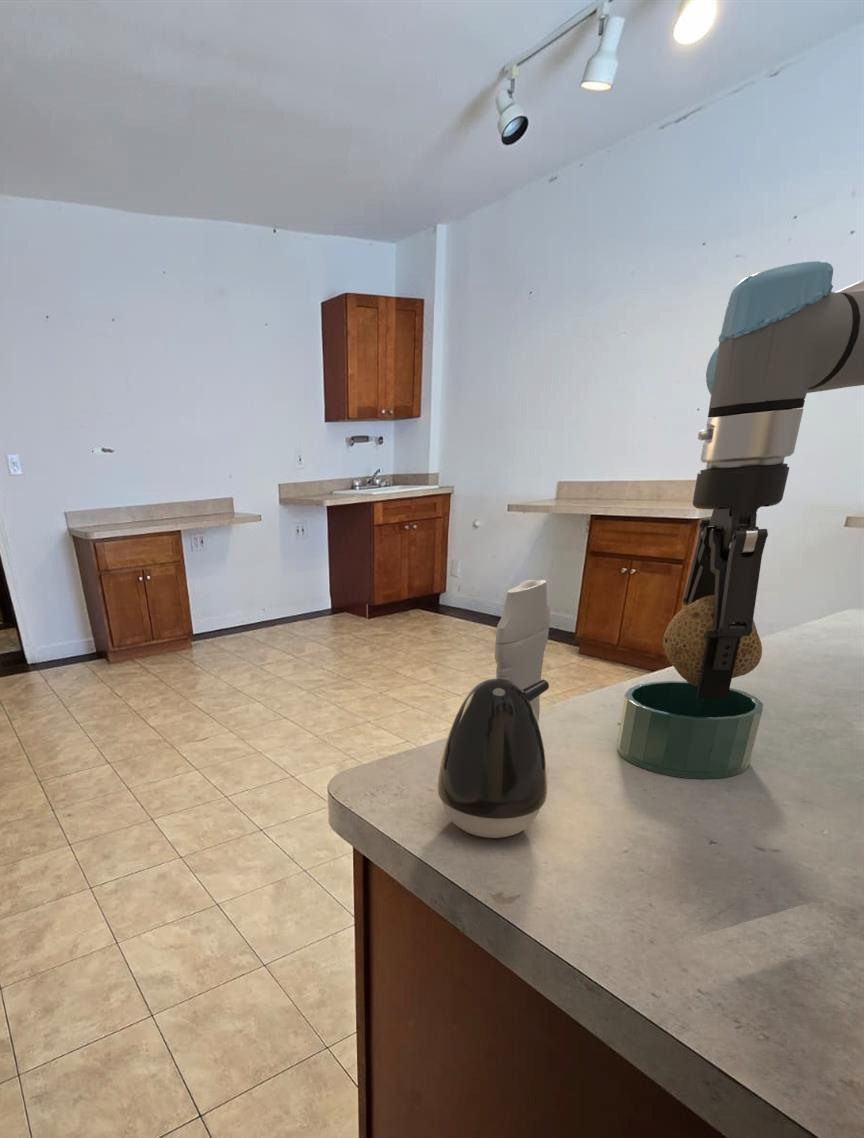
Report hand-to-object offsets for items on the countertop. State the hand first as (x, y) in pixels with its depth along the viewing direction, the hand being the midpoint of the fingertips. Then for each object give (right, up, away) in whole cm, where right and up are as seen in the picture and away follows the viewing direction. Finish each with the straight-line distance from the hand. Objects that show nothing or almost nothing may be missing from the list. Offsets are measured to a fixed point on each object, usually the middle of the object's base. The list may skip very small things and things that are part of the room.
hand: (700, 683), depth 72 cm
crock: (0, -8, +4) cm, 9 cm away
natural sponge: (0, 0, 0) cm, 0 cm away
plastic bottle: (-21, -11, +2) cm, 23 cm away
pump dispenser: (-26, -16, -8) cm, 31 cm away
